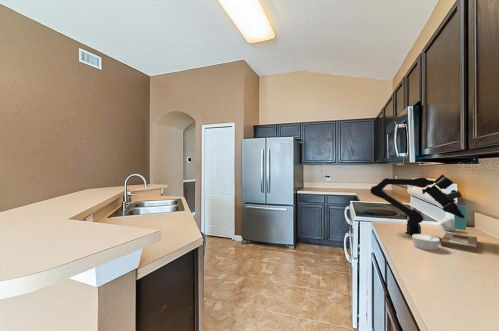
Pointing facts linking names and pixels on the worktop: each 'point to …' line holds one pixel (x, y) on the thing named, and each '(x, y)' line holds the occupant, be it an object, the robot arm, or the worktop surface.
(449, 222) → the die
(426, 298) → the worktop surface
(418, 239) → the ramekin
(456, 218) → the teal block
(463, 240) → the puzzle board
